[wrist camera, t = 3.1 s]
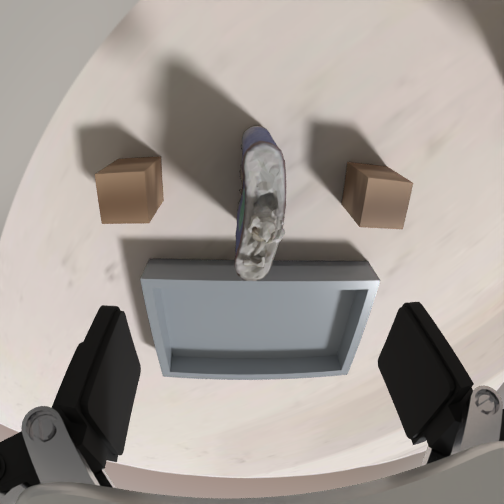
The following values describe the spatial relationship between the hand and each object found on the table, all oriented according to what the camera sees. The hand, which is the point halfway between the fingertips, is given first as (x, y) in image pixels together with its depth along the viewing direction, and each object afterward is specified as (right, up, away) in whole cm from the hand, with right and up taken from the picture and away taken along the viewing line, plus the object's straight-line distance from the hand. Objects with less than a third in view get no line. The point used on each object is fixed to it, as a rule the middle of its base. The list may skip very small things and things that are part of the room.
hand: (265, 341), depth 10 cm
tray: (0, -4, +23) cm, 24 cm away
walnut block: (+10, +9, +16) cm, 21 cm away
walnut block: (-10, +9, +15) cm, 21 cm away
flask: (0, +9, +16) cm, 19 cm away
